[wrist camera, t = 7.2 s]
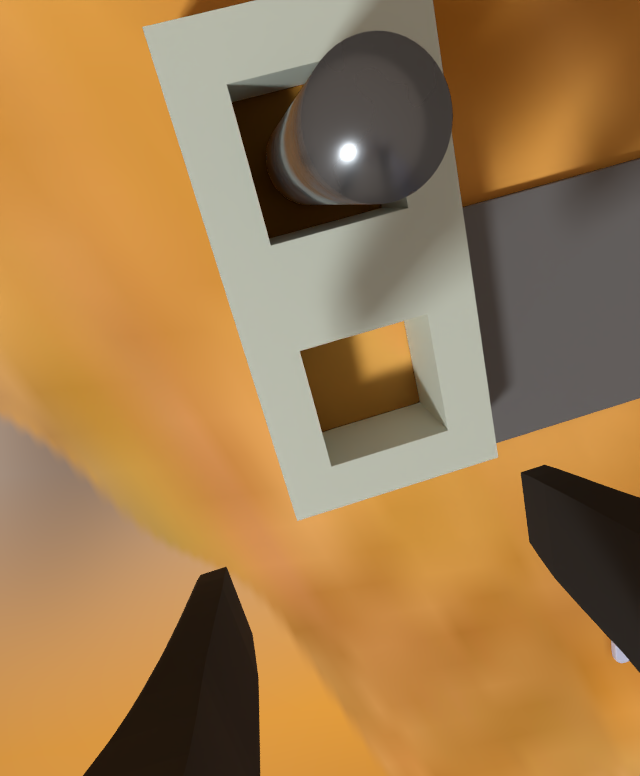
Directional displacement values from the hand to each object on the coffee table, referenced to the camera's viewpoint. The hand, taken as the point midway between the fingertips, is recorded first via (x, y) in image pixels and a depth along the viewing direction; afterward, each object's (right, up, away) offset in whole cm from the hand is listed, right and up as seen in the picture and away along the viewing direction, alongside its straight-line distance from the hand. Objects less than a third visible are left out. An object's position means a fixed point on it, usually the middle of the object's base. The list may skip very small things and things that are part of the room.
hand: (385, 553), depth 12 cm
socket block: (-1, +8, +8) cm, 11 cm away
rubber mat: (+10, +7, +10) cm, 16 cm away
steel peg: (-2, +12, +6) cm, 13 cm away
